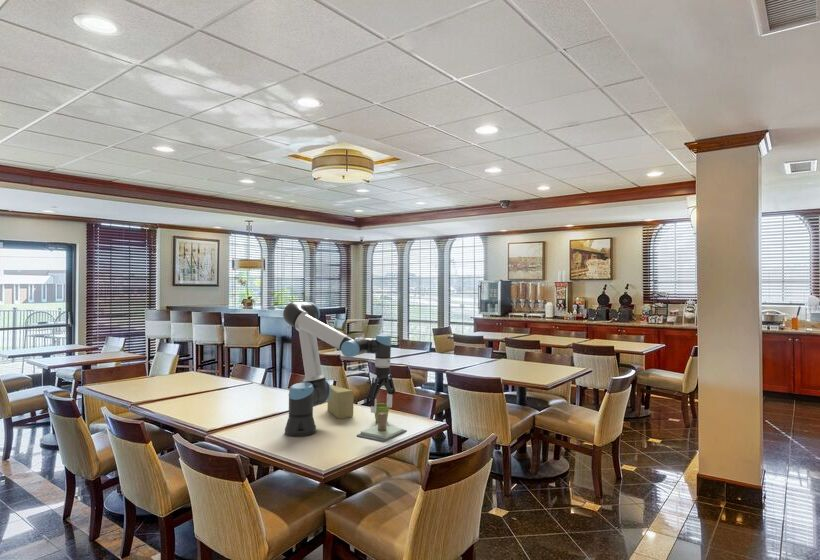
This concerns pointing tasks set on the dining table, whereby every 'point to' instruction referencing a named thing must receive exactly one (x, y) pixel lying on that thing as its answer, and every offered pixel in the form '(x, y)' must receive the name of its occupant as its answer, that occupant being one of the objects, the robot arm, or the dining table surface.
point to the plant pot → (381, 410)
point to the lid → (382, 428)
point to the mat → (377, 437)
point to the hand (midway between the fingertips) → (381, 409)
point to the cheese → (341, 402)
